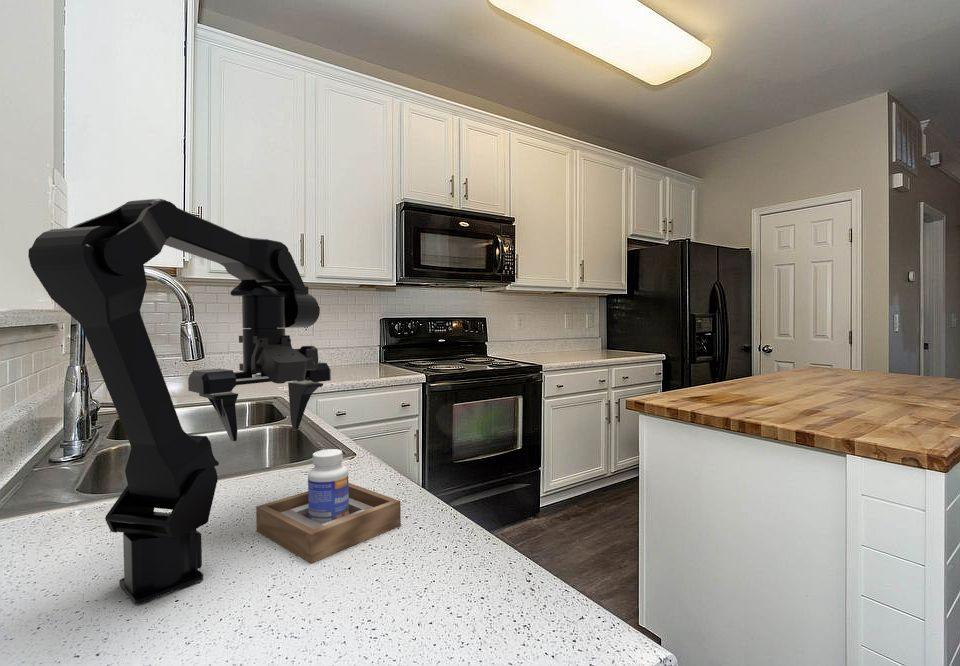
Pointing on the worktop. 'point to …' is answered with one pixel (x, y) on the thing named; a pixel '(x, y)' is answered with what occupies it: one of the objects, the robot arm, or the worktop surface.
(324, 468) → the pill bottle
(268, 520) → the walnut box
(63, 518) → the worktop surface
